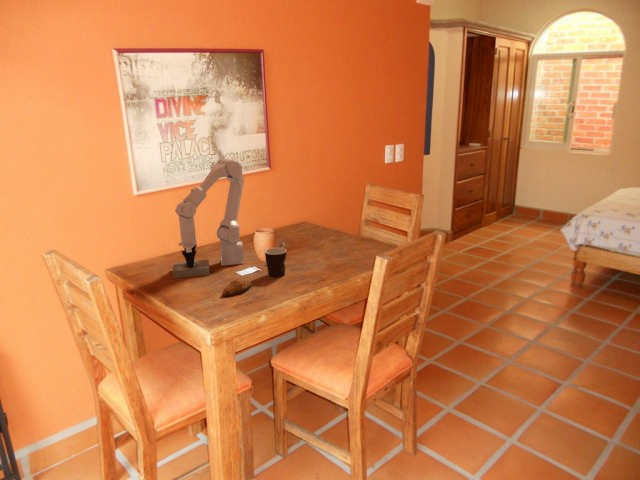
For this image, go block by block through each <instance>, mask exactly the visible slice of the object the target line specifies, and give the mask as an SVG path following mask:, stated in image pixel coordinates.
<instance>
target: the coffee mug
mask: <svg viewBox="0 0 640 480" xmlns="http://www.w3.org/2000/svg"><path fill="white" fill-rule="evenodd" d="M264 257H265V262H266V268H267V274H268V277H269V276H270V278H272V277H274V278H273V279H277V278H278V277H279V278H282V276H283V277H284V276H285V275H286V265H287V264H286V263H287V249H286V248H285V247H284V248H279V247H271V248H267V249H265V250H264Z"/></svg>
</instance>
